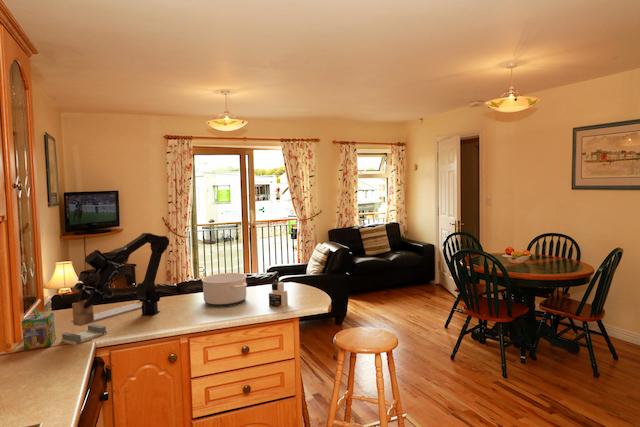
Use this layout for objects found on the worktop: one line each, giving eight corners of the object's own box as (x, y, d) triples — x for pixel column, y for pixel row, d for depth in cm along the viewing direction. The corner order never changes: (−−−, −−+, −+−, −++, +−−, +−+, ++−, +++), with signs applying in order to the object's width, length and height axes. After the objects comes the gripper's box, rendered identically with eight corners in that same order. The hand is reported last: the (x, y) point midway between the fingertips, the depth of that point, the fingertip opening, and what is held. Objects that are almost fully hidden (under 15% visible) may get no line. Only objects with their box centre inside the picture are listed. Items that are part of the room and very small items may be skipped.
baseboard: (70, 322, 194) (82, 326, 187) (69, 316, 194) (82, 320, 187) (132, 305, 219) (144, 308, 213) (131, 299, 219) (144, 303, 212)
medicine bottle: (269, 307, 205) (267, 283, 204) (275, 303, 211) (274, 280, 211) (281, 308, 202) (280, 284, 201) (288, 304, 209) (287, 281, 208)
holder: (93, 330, 179) (93, 323, 179) (107, 333, 175) (106, 326, 175) (61, 341, 167) (60, 334, 166) (74, 344, 163) (74, 337, 162)
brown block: (87, 320, 174) (86, 299, 174) (93, 321, 172) (92, 300, 172) (73, 324, 169) (72, 303, 168) (80, 326, 167) (78, 304, 166)
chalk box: (50, 346, 162) (47, 310, 161) (23, 350, 159) (20, 313, 158) (56, 338, 170) (54, 304, 169) (30, 342, 167) (27, 307, 166)
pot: (262, 302, 213) (261, 277, 213) (225, 314, 196) (223, 286, 195) (226, 293, 236) (224, 269, 235) (189, 302, 219) (187, 277, 218)
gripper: (76, 264, 177) (52, 295, 168) (104, 266, 169) (80, 300, 160) (95, 277, 185) (73, 308, 176) (122, 280, 176) (100, 313, 167)
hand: (81, 307), depth 170 cm, fingers closed on brown block, 4 cm apart
